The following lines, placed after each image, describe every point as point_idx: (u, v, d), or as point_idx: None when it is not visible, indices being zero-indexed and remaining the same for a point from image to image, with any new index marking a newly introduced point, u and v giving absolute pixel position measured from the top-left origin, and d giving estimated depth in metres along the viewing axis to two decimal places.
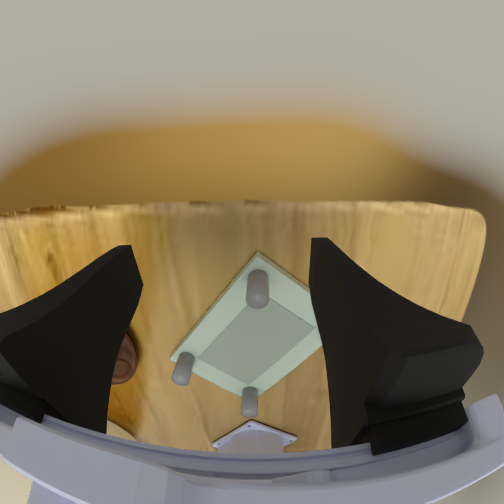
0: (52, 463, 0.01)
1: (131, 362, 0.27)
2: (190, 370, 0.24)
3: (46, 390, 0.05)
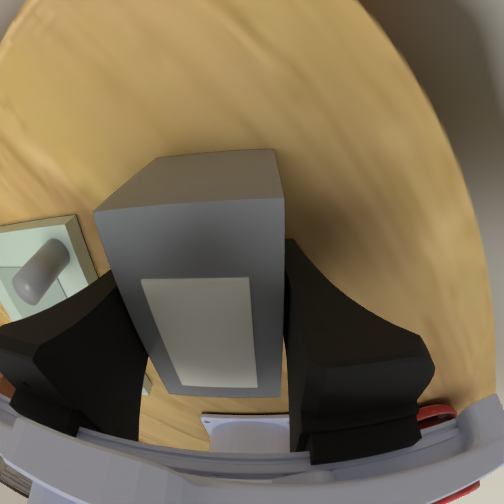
0: (52, 463, 0.01)
1: None
2: None
3: (82, 401, 0.05)
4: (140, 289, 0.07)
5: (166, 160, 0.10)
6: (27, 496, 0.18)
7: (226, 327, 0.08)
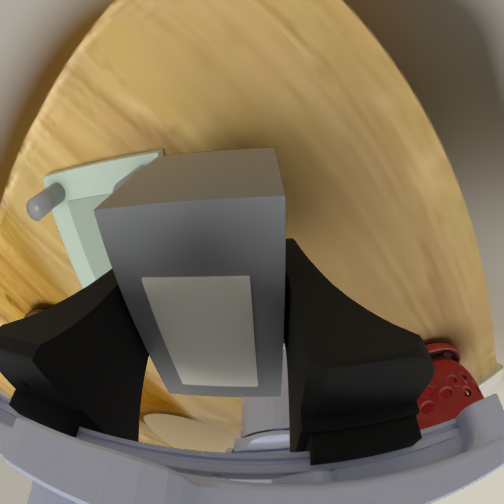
0: (52, 463, 0.01)
1: None
2: None
3: (82, 401, 0.05)
4: (141, 287, 0.07)
5: (167, 159, 0.10)
6: None
7: (227, 326, 0.08)
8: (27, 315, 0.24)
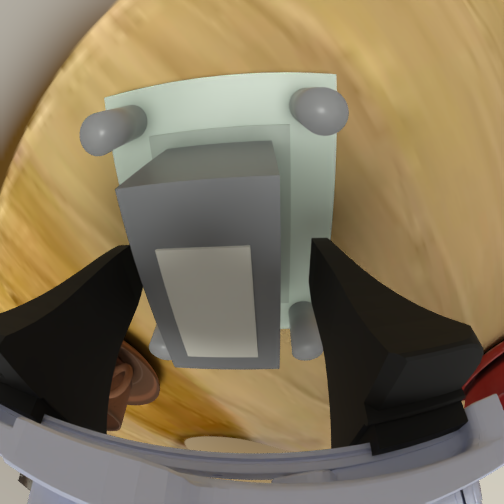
0: (52, 463, 0.01)
1: None
2: None
3: (46, 390, 0.05)
4: (154, 259, 0.08)
5: (176, 150, 0.11)
6: None
7: (230, 294, 0.09)
8: None
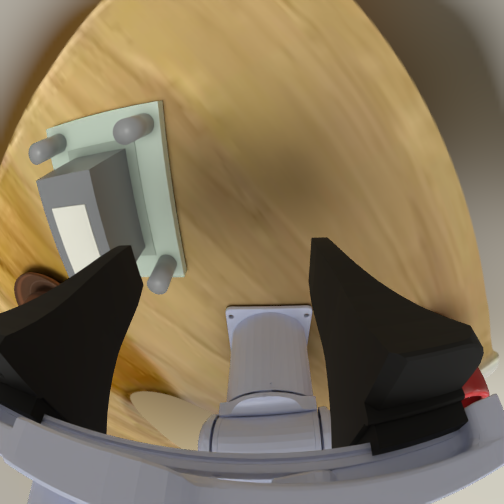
0: (52, 463, 0.01)
1: None
2: None
3: (46, 390, 0.05)
4: (52, 213, 0.15)
5: (77, 158, 0.17)
6: None
7: (82, 230, 0.15)
8: (18, 279, 0.24)
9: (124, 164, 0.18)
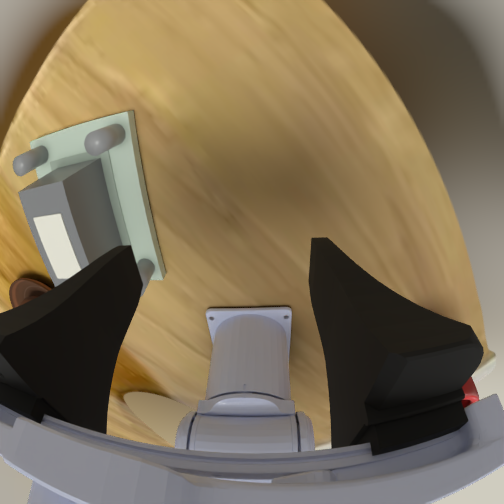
0: (52, 463, 0.01)
1: None
2: None
3: (46, 390, 0.05)
4: (34, 222, 0.15)
5: (58, 169, 0.17)
6: None
7: (60, 237, 0.16)
8: (12, 285, 0.25)
9: (100, 173, 0.18)
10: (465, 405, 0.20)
